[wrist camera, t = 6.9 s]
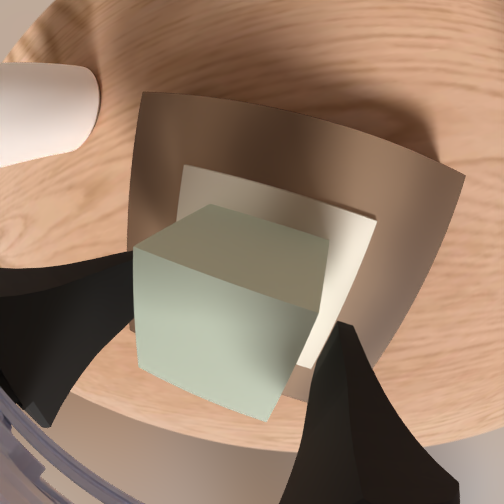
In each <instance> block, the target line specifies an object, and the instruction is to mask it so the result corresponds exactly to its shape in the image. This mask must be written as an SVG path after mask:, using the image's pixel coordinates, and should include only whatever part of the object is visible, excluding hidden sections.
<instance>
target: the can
mask: <svg viewBox="0 0 504 504" xmlns="http://www.w3.org/2000/svg"><path fill="white" fill-rule="evenodd" d="M99 108H100V90H99V85H98V82H97V80H96V78H95V76H94V74H93V73H92V72H91V71H90V70H89V69H88V68H86V67H82V66H75V65H66V64H53V63H32V62H8V63H0V168H1V167H5V166H9V165H13V164H17V163H20V162H25V161H29V160H33V159H37V158H42V157H47V156H51V155H56V154H61V153H66V152H71V151H74V150H76V149H78V148H79V147H80V146H81V145H82V144H83V143H84V142H85V140H86V139H87V138H88V136H89V135H90V133H91V132H92V130H93V128H94V126H95V123H96V121H97V117H98V113H99Z"/></svg>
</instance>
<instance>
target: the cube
mask: <svg viewBox="0 0 504 504" xmlns="http://www.w3.org/2000/svg"><path fill="white" fill-rule="evenodd" d="M328 248H329V240H327V239H324V238H321V237H318V236H315V235H312V234H309V233H306V232H303V231H299V230H296V229H293V228H290V227H287V226H283V225H280V224H277V223H274V222H270V221H267V220H264V219H261V218H257V217H254V216H251V215H247V214H244V213H240V212H237V211H234V210H230V209H227V208H223V207H220V206H216V205H213V204H209V205H207V206H205V207H203V208H201V209H199V210H197V211H196V212H194V213H192V214H190V215H188V216H186V217H184V218H183V219H181V220H179V221H177V222H175V223H173V224H172V225H170V226H168V227H166V228H165V229H163V230H161V231H159V232H157V233H156V234H154V235H152V236H150V237H149V238H147V239H145V240H143V241H142V242H140V243H138V244H137V245H135V246H133V294H134V317H135V333H136V345H137V356H138V366H139V368H141V369H143V370H145V371H147V372H149V373H151V374H153V375H155V376H156V377H158V378H160V379H162V380H164V381H166V382H168V383H171V384H173V385H175V386H177V387H179V388H181V389H183V390H185V391H188V392H190V393H192V394H194V395H196V396H199V397H201V398H203V399H206V400H208V401H211V402H213V403H215V404H218V405H220V406H223V407H225V408H228V409H231V410H233V411H236V412H239V413H241V414H244V415H247V416H250V417H253V418H255V419H258V420H261V421H264V422H267V420H268V418H269V417H270V415H271V413H272V411H273V409H274V407H275V405H276V403H277V401H278V399H279V398H280V396H281V394H282V392H283V390H284V388H285V386H286V384H287V382H288V380H289V378H290V375H291V373H292V371H293V369H294V367H295V365H296V363H297V361H298V359H299V357H300V354H301V352H302V350H303V348H304V346H305V344H306V341H307V339H308V337H309V335H310V332H311V330H312V328H313V325H314V323H315V321H316V319H317V316H318V314H319V309H320V303H321V297H322V291H323V284H324V277H325V270H326V263H327V256H328Z"/></svg>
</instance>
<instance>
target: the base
mask: <svg viewBox="0 0 504 504" xmlns="http://www.w3.org/2000/svg"><path fill="white" fill-rule="evenodd" d="M465 176H466V175H464V174H462V173H460V172H458V171H456V170H454V169H452V168H450V167H448V166H446V165H444V164H442V163H439V162H437V161H435V160H433V159H431V158H429V157H426V156H424V155H422V154H419V153H417V152H415V151H412V150H410V149H408V148H405V147H403V146H400V145H398V144H395V143H392V142H390V141H387V140H384V139H382V138H379V137H376V136H373V135H371V134H368V133H365V132H362V131H359V130H356V129H353V128H349V127H346V126H343V125H340V124H336V123H333V122H330V121H326V120H322V119H319V118H315V117H311V116H307V115H303V114H299V113H295V112H291V111H287V110H282V109H278V108H273V107H268V106H263V105H258V104H252V103H247V102H241V101H235V100H228V99H221V98H214V97H206V96H197V95H187V94H175V93H160V92H143V93H142V98H141V104H140V109H139V115H138V121H137V128H136V135H135V142H134V150H133V159H132V168H131V179H130V191H129V206H128V229H127V252H128V251H133V246H135V245H137V244H138V243H140V242H142V241H143V240H145V239H147V238H149V237H150V236H152V235H154V234H156V233H157V232H159V231H161V230H163V229H165V228H166V227H168V226H170V225H172V224H173V223H175V222H177V221H179V220H181V219H183V218H184V217H186V216H188V215H190V214H192V213H194V212H196V211H197V210H199V209H201V208H203V207H205V206H207V205H209V204H213V205H216V206H220V207H223V208H227V209H230V210H234V211H237V212H240V213H244V214H247V215H251V216H254V217H257V218H261V219H264V220H267V221H270V222H274V223H277V224H280V225H283V226H287V227H290V228H293V229H296V230H299V231H303V232H306V233H309V234H312V235H315V236H318V237H321V238H324V239H327V240H329V248H328V256H327V263H326V270H325V277H324V284H323V291H322V297H321V303H320V309H319V314H318V316H317V319H316V321H315V323H314V325H313V328H312V330H311V332H310V335H309V337H308V339H307V341H306V344H305V346H304V348H303V350H302V352H301V354H300V357H299V359H298V361H297V363H296V365H295V367H294V369H293V371H292V373H291V375H290V378H289V380H288V382H287V384H286V386H285V388H284V390H283V392H282V394H281V395H284V396H287V397H290V398H294V399H297V400H300V401H304V402H307V403H308V398H309V391H310V385H311V381H312V377H313V373H314V369H315V365H316V362H317V359H318V357H319V355H320V354H321V352H322V350H323V348H324V346H325V344H326V342H327V340H328V338H329V336H330V334H331V332H332V330H333V328H334V326H335V324H336V322H337V321H341V322H344V323H347V324H350V325H353V326H354V328H355V331H356V333H357V335H358V338H359V340H360V342H361V345H362V347H363V349H364V352H365V354H366V356H367V359H368V361H369V363H370V365H371V367H372V369H373V367H374V366H375V364H376V363H377V361H378V360H379V358H380V357H381V355H382V354H383V352H384V351H385V349H386V348H387V346H388V345H389V343H390V341H391V340H392V338H393V336H394V335H395V333H396V332H397V330H398V328H399V327H400V325H401V323H402V321H403V320H404V318H405V316H406V314H407V313H408V311H409V309H410V307H411V305H412V304H413V302H414V300H415V298H416V296H417V294H418V292H419V290H420V288H421V286H422V284H423V282H424V280H425V278H426V276H427V274H428V272H429V270H430V268H431V266H432V264H433V262H434V259H435V257H436V255H437V253H438V250H439V248H440V246H441V243H442V241H443V239H444V236H445V234H446V231H447V229H448V226H449V223H450V221H451V218H452V216H453V213H454V210H455V207H456V204H457V201H458V199H459V196H460V193H461V189H462V186H463V183H464V180H465ZM129 325H130V330H131V331H133V332H135V318H134V319H133V320H131V321H130V322H129Z"/></svg>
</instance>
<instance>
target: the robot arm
mask: <svg viewBox="0 0 504 504" xmlns="http://www.w3.org/2000/svg"><path fill="white" fill-rule="evenodd" d="M134 318H135V317H134V294H133V251H128V252H123V253H118V254H113V255H109V256H105V257H100V258H96V259H92V260H87V261H82V262H77V263H72V264H67V265H60V266H53V267H44V268H23V269H12V268H0V504H74V503H72V502H71V501H70V500H68V499H67V498H66V497H64V496H63V495H62V494H61V493H59V492H58V491H57V490H56V489H54V488H53V487H52V486H51V485H50V484H48V483H47V482H46V481H45V480H44V479H43V478H42V477H40V475H41V474H42V473H43V472H44V471H45V467H44V466H43V465H42V464H41V463H40V462H39V461H38V460H37V459H36V458H35V457H34V456H33V455H32V454H31V453H30V452H29V451H28V450H27V449H26V448H25V447H24V446H23V445H22V444H21V443H20V442H19V441H18V440H17V439H16V438H15V437H14V436H13V434H12V433H11V428H12V427H11V424H12V425H13V427H14V428H15V429H16V430H17V431H18V432H19V433H20V434H21V435H22V436H23V437H24V438H25V439H26V440H27V441H28V442H29V443H30V444H31V445H32V446H33V447H34V448H35V449H36V450H37V451H38V452H39V453H40V454H41V455H42V456H43V457H44V458H46V459H47V460H48V461H49V462H50V463H51V464H52V465H53V466H55V467H56V468H57V469H58V470H59V471H60V472H62V473H63V474H64V475H65V476H67V477H68V478H69V479H70V480H72V481H73V482H74V483H76V484H77V485H78V486H80V487H81V488H82V489H84V490H85V491H86V492H88V493H89V494H91V495H92V496H94V497H95V498H97V499H98V500H100V501H101V502H102V503H104V504H144V503H142V502H140V501H139V500H137V499H135V498H133V497H131V496H130V495H128V494H126V493H125V492H123V491H121V490H120V489H118V488H116V487H115V486H113V485H111V484H110V483H108V482H107V481H105V480H104V479H102V478H101V477H99V476H98V475H96V474H95V473H93V472H92V471H91V470H89V469H88V468H86V467H85V466H83V465H82V464H81V463H80V462H78V461H77V460H76V459H74V458H73V457H72V456H71V455H69V454H68V453H67V452H66V451H64V450H63V449H62V448H61V447H60V446H58V445H57V444H56V443H55V442H54V441H53V440H52V439H50V438H49V437H48V436H47V435H46V434H45V433H44V432H43V431H42V430H41V429H40V428H38V427H37V426H36V425H35V424H34V423H33V422H32V421H31V420H30V419H29V418H28V417H27V416H26V415H25V414H24V413H23V412H22V411H21V409H20V408H18V406H17V405H16V403H17V404H18V405H19V406H20V407H21V408H22V409H23V410H25V411H26V412H27V413H28V414H29V415H30V416H31V417H32V418H33V419H34V420H35V421H36V422H37V423H38V424H39V425H40V426H41V427H44V428H49V427H51V425H52V423H53V421H54V419H55V417H56V415H57V413H58V411H59V409H60V407H61V405H62V403H63V402H64V400H65V399H66V397H67V395H68V394H69V392H70V390H71V389H72V387H73V386H74V384H75V383H76V381H77V380H78V379H79V377H80V376H81V374H82V373H83V371H84V370H85V369H86V368H87V366H88V365H89V364H90V362H91V361H92V360H93V359H94V357H95V356H96V355H97V354H98V353H99V352H100V351H101V349H102V348H103V347H104V346H105V345H107V344H108V343H109V342H110V341H111V340H112V339H113V338H114V337H115V336H116V335H117V334H118V333H119V332H120V331H121V330H122V329H123V328H124V327H125V326H126V325H127V324H128V323H129V322H130V321H131V320H133V319H134ZM279 504H460V493H459V483H458V481H457V480H455V479H454V478H453V477H452V476H451V475H450V474H449V473H448V472H447V471H445V470H444V469H443V468H442V467H441V466H440V465H439V464H438V463H437V462H436V461H435V460H434V459H433V458H432V457H431V456H430V455H429V454H428V453H427V451H426V450H425V449H424V448H423V447H422V446H421V445H420V443H419V442H418V441H417V440H416V439H415V437H414V436H413V435H412V433H411V432H410V431H409V430H408V428H407V427H406V426H405V424H404V423H403V421H402V420H401V419H400V417H399V416H398V414H397V412H396V411H395V409H394V408H393V406H392V405H391V403H390V401H389V400H388V398H387V396H386V395H385V393H384V391H383V389H382V387H381V385H380V383H379V381H378V380H377V378H376V376H375V373H374V371H373V369H372V367H371V365H370V363H369V361H368V359H367V356H366V354H365V352H364V349H363V347H362V345H361V342H360V340H359V338H358V335H357V333H356V331H355V328H354V326H353V325H350V324H347V323H344V322H341V321H337V322H336V324H335V326H334V328H333V330H332V332H331V334H330V336H329V338H328V340H327V342H326V344H325V346H324V348H323V350H322V352H321V354H320V355H319V357H318V359H317V362H316V365H315V369H314V373H313V377H312V381H311V385H310V391H309V398H308V405H307V411H306V417H305V423H304V429H303V435H302V439H301V444H300V448H299V451H298V454H297V457H296V460H295V463H294V466H293V469H292V472H291V475H290V477H289V480H288V483H287V485H286V488H285V491H284V493H283V495H282V498H281V500H280V503H279Z"/></svg>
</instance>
